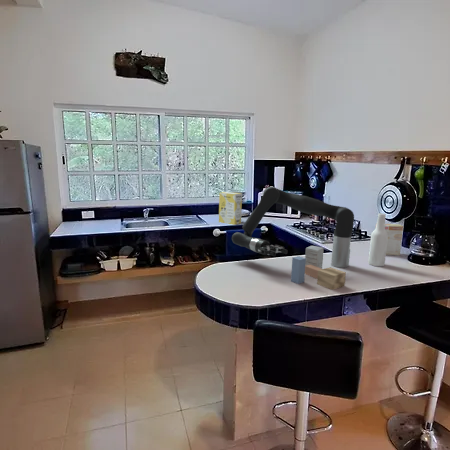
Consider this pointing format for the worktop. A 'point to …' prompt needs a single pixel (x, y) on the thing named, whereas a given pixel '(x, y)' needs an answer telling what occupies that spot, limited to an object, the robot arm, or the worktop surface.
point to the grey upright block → (314, 256)
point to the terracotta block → (312, 271)
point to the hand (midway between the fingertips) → (281, 253)
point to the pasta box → (230, 207)
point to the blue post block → (298, 269)
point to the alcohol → (378, 243)
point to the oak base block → (331, 278)
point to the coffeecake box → (393, 238)
